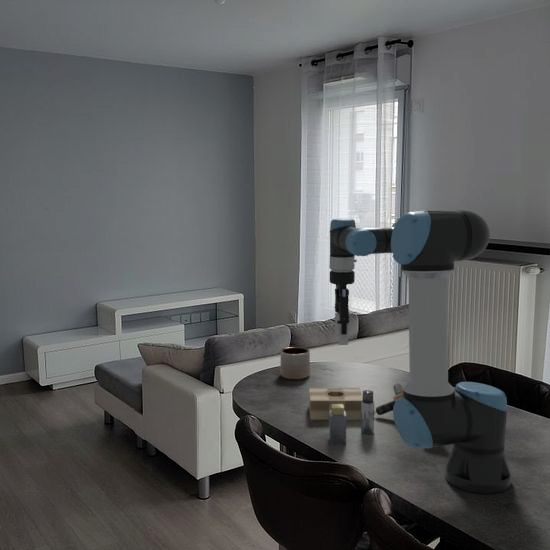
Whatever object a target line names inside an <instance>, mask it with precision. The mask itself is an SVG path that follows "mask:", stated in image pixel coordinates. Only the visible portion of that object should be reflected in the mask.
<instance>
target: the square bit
mask: <svg viewBox="0 0 550 550" xmlns="http://www.w3.org/2000/svg"><path fill="white" fill-rule="evenodd" d="M328 438H329V439H328V440H329V444H331V445H346V444H347V420H346V412H345V410H344V406H343V404H332V410H329V420H328Z"/></svg>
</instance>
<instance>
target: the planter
mask: <svg viewBox="0 0 550 550" xmlns="http://www.w3.org/2000/svg"><path fill="white" fill-rule="evenodd" d="M310 352H311V351H310V349H308V348H306V347H303V346H302V347H301V346H288V347H284V348H282V349H280V366H279V367H280V371H279V372H280V373H279V374H280V376H281V377H282V378H284V379H287V380H295V381H296V380H297V381H299V380H303V379H306V378H309V377H310V375H311V362H310V361H311V358H310V357H311V356H310V354H311V353H310Z"/></svg>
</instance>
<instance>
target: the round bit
mask: <svg viewBox="0 0 550 550" xmlns="http://www.w3.org/2000/svg"><path fill="white" fill-rule="evenodd" d="M362 397H363V401H362V402H361V420H360V433H361V434H363V435H367V436H368V435H373V434H374V433H375V413H374V412H375V401H374V391H373V390H369V389H364V390H363V391H362Z"/></svg>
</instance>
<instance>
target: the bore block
mask: <svg viewBox="0 0 550 550" xmlns="http://www.w3.org/2000/svg"><path fill="white" fill-rule="evenodd" d="M308 394H309V395H308V406H309V407H308V408H309V409H308V410H309V418H310V420H311V421H315V420H316V421H318V420H319V421H321V420H322V421H323V420H325V421H326V420H327V421H329V410H332V404H343V406H344V410H345V412H346V421H361V402H362V401H363V393H362V391H361V388H360V387H309V388H308Z"/></svg>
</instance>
